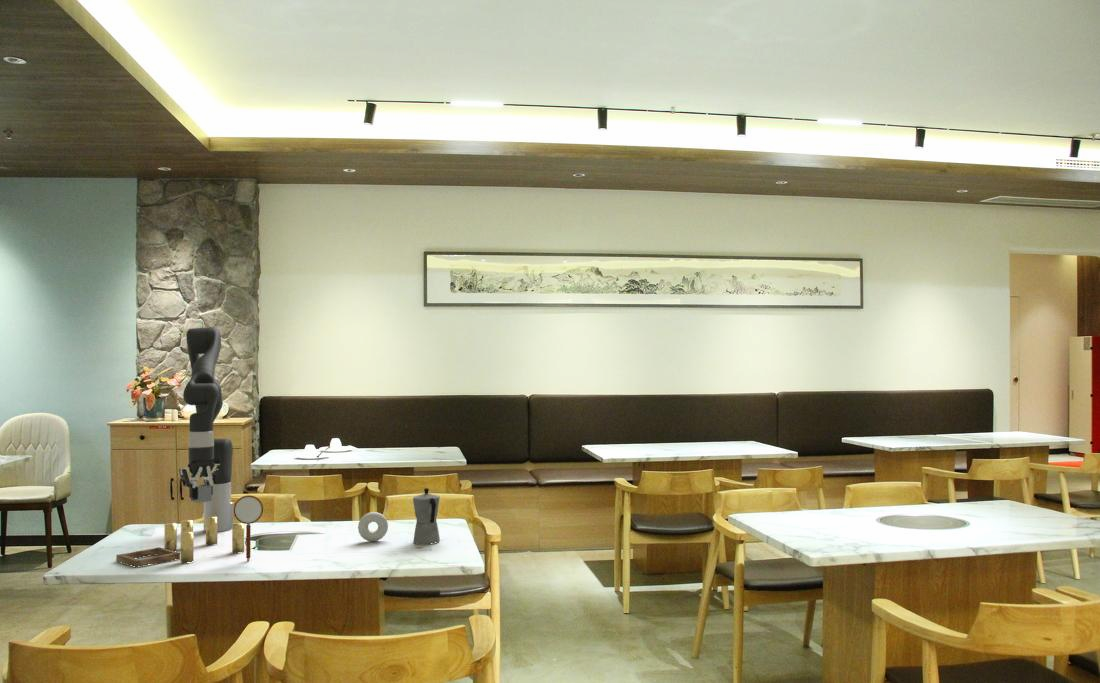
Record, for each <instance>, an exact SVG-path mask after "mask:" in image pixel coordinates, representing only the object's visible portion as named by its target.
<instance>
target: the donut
mask: <svg viewBox="0 0 1100 683" xmlns="http://www.w3.org/2000/svg"><path fill="white" fill-rule="evenodd" d="M388 522H389V521H388V519H387V518H386V517H385V515H383V514H382V513H380V512H378V511H377V512H375V511H370V512H367V513H366V514H364V515H363V516H362V517H361V518H360V519H359V522H358V524H357V525H358V526H357V530H358V533H359V535H360V537H361V538H362V539H364V541H367V542H372V541H374V542H378V541H380V540H382V539H383V538H384V537H385V536H386V534H387V532H388V530H389V529H388V528H389V523H388ZM371 523H375V524H376V525H377V529H376V530H374V531H372V530H370V529H369V525H370V524H371Z"/></svg>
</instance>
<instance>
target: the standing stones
mask: <svg viewBox="0 0 1100 683" xmlns="http://www.w3.org/2000/svg"><path fill="white" fill-rule="evenodd" d="M231 530H232V531H231V535H232V536H231V538H232V539H231V542H232V543H231V545H232V546H231V551H232V552H235V553H234V554H239V553H238V552H242V553H244V552H245V523H242V522H233V524H232V529H231ZM194 534H195V533H194V520H193V519H183V520H180V563H181V562H182V563H187V562H192V561H193V562H194V546H195V544H194V542H195V540H194V538H195V536H194ZM163 535H164V537H163V538H164V541H163V542H164V545H163V546H164V547H163V548H164V549H168V550H171V551H177V550H178V544H177V542H178V536H177V535H178V523H177V522H167V523H164V534H163ZM206 544H207V545H206ZM212 544H216V545H218V532H217V516H210V517H206V532H205V545H206V546H213V545H212ZM177 552H178V551H177ZM193 562H192V563H193ZM182 563H181V564H182ZM187 564H188V563H187Z"/></svg>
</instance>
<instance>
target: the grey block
mask: <svg viewBox="0 0 1100 683" xmlns="http://www.w3.org/2000/svg"><path fill="white" fill-rule="evenodd" d="M195 488H196V500H191V499H190V502H192V503H197V504H199V503H200V504H201V503H204V502H207V501H212V485H206V484H204V483H203V484H197V485H196V487H195Z"/></svg>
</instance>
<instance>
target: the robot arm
mask: <svg viewBox="0 0 1100 683" xmlns="http://www.w3.org/2000/svg"><path fill="white" fill-rule="evenodd" d="M185 337H186V338H185V339H186V346H187V351H188V358H189V363H190V369H191V377H190V379H189V381H188V382H187V384H186V386H185V387H184V390H183V392H182V393H183V395H182V396H183V400H184V402H185V403H186V404H187V405H189V406H195V412H194V413H192V414H190V415H189V432H188V433H189V434H188V465H187V466H186V467H184V468H183V467H182V468H180V469H178V472H179V475H180V479H181V482H182V486H183V487H185V488H188V489H189V490H188V491H189V492H188V493H189V494H188V495H189V498H190V501H191V500H196V488H195V487H196V485H198V482H199V480H200V478H202V477H203V484H206V485H212V501H207V502H203V532H205V531H206V517H210V516H217V533H219V532H225V531H226V532H227V531H230V530H232V524H234V502H232V473H233V472H232V471H233V470H232V469H233V451H234V450H233V443H232V441H231V440H232V439H229V438H215V437H214V436H215V435H214V422H215V421H216V419H217V417H218V416H219V414H220V412H221V410H222V408H223V404H224V403H223V393H222V386H221V384H220V383H219V382H218V380H217V379H216V378H215V371H216V365H217V362H218V358H219V356H220V352H221V348H222V338H221V337H222V336H221V332H220V330H219V329H218V328H217V327H212V326H211V327H209V326H208V327H195V328H189V329H188V330H187V331H186V336H185ZM200 355H201V356H200ZM212 471H213V472H212ZM189 473H190V476H189Z"/></svg>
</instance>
